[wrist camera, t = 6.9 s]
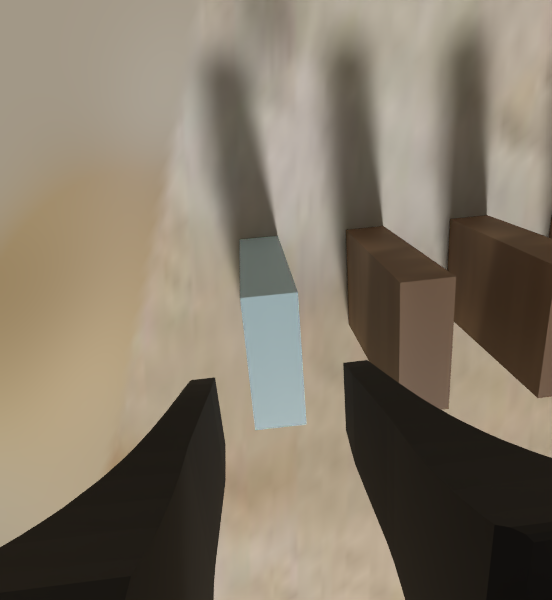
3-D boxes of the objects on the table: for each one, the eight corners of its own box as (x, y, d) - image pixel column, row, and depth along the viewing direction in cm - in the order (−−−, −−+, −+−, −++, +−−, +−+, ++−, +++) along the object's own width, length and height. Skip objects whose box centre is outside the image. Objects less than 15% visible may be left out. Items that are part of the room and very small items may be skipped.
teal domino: (277, 235, 19) (298, 292, 13) (285, 330, 21) (306, 424, 14) (239, 239, 19) (240, 298, 13) (249, 334, 21) (255, 430, 14)
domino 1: (383, 225, 19) (456, 276, 13) (383, 320, 21) (448, 408, 14) (345, 229, 19) (399, 282, 13) (349, 324, 21) (398, 414, 14)
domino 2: (486, 215, 20) (610, 260, 13) (479, 309, 21) (586, 392, 15) (450, 219, 20) (556, 266, 13) (445, 313, 21) (538, 398, 15)
